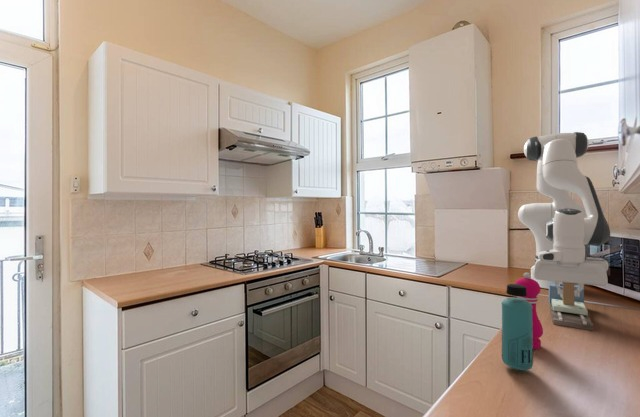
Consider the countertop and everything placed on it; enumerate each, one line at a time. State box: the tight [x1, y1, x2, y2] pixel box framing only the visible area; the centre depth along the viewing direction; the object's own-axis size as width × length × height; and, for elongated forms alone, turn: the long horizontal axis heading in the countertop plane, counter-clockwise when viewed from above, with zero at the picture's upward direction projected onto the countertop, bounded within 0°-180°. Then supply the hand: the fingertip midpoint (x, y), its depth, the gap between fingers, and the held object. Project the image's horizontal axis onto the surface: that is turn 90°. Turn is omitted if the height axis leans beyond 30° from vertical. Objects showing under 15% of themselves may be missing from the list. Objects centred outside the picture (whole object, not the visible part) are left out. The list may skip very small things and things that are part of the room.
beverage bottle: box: [500, 283, 535, 371], centre depth 75 cm, size 6×7×20 cm
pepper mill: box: [514, 272, 544, 350], centre depth 88 cm, size 7×7×20 cm
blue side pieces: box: [548, 282, 585, 306], centre depth 119 cm, size 6×10×8 cm, turn 57°
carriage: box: [552, 282, 589, 316], centre depth 111 cm, size 10×9×10 cm
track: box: [549, 303, 595, 331], centre depth 108 cm, size 20×10×2 cm, turn 147°
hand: (568, 295), depth 111 cm, fingers closed on carriage, 3 cm apart
